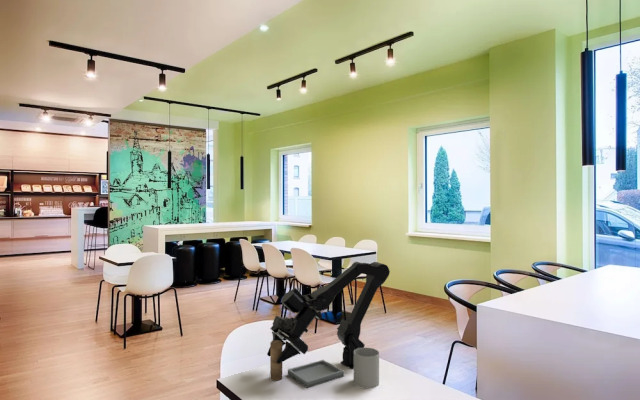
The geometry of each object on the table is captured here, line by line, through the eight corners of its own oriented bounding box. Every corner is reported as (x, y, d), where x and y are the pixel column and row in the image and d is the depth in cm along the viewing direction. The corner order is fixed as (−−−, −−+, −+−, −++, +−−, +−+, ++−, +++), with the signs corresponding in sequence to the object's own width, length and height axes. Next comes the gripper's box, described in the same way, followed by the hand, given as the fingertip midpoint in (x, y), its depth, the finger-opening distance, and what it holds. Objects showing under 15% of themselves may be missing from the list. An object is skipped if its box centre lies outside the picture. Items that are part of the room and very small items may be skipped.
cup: (378, 389, 127) (378, 357, 128) (352, 387, 129) (352, 355, 129) (379, 378, 136) (379, 348, 136) (355, 376, 137) (355, 346, 138)
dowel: (278, 374, 138) (278, 339, 138) (284, 378, 135) (284, 342, 135) (268, 377, 136) (268, 341, 136) (274, 381, 133) (274, 345, 133)
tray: (322, 364, 147) (323, 359, 147) (343, 376, 137) (343, 370, 137) (287, 374, 138) (287, 369, 138) (307, 387, 128) (307, 382, 128)
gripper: (275, 301, 146) (246, 336, 140) (300, 313, 130) (268, 354, 124) (294, 319, 150) (267, 355, 144) (320, 334, 134) (291, 374, 128)
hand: (272, 359), depth 135 cm, fingers open, 7 cm apart
